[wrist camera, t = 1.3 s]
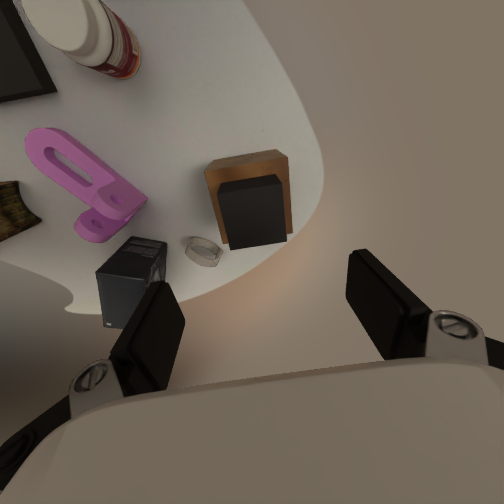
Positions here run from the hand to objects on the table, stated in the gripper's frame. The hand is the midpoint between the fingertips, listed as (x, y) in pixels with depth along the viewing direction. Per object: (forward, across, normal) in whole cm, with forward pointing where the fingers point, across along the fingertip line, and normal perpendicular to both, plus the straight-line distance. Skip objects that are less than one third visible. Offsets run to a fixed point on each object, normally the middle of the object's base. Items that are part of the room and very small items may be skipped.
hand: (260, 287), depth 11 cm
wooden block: (+21, 0, 0) cm, 21 cm away
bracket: (+21, +20, -5) cm, 29 cm away
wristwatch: (+21, +8, +7) cm, 24 cm away
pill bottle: (+21, +11, -16) cm, 28 cm away
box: (+21, +18, +9) cm, 29 cm away
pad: (+13, 0, 0) cm, 13 cm away
